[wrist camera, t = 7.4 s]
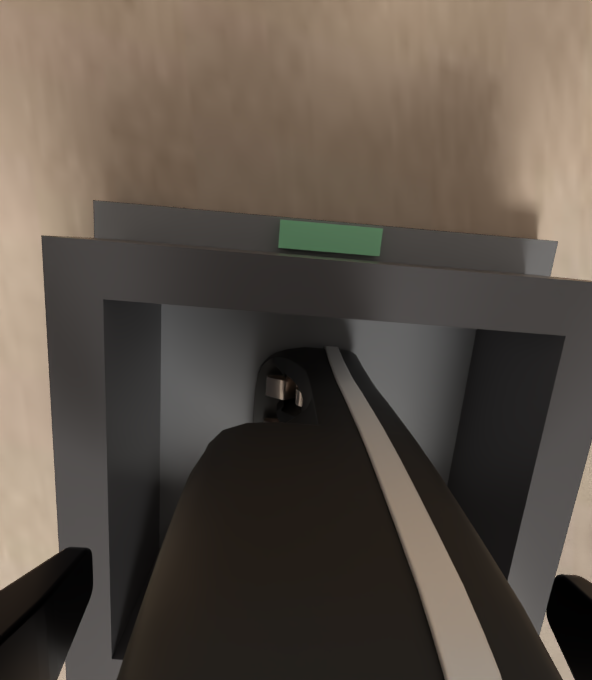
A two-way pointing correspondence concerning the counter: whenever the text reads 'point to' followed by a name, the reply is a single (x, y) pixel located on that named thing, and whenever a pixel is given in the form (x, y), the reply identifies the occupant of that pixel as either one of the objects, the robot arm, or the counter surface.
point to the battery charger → (326, 551)
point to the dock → (294, 332)
